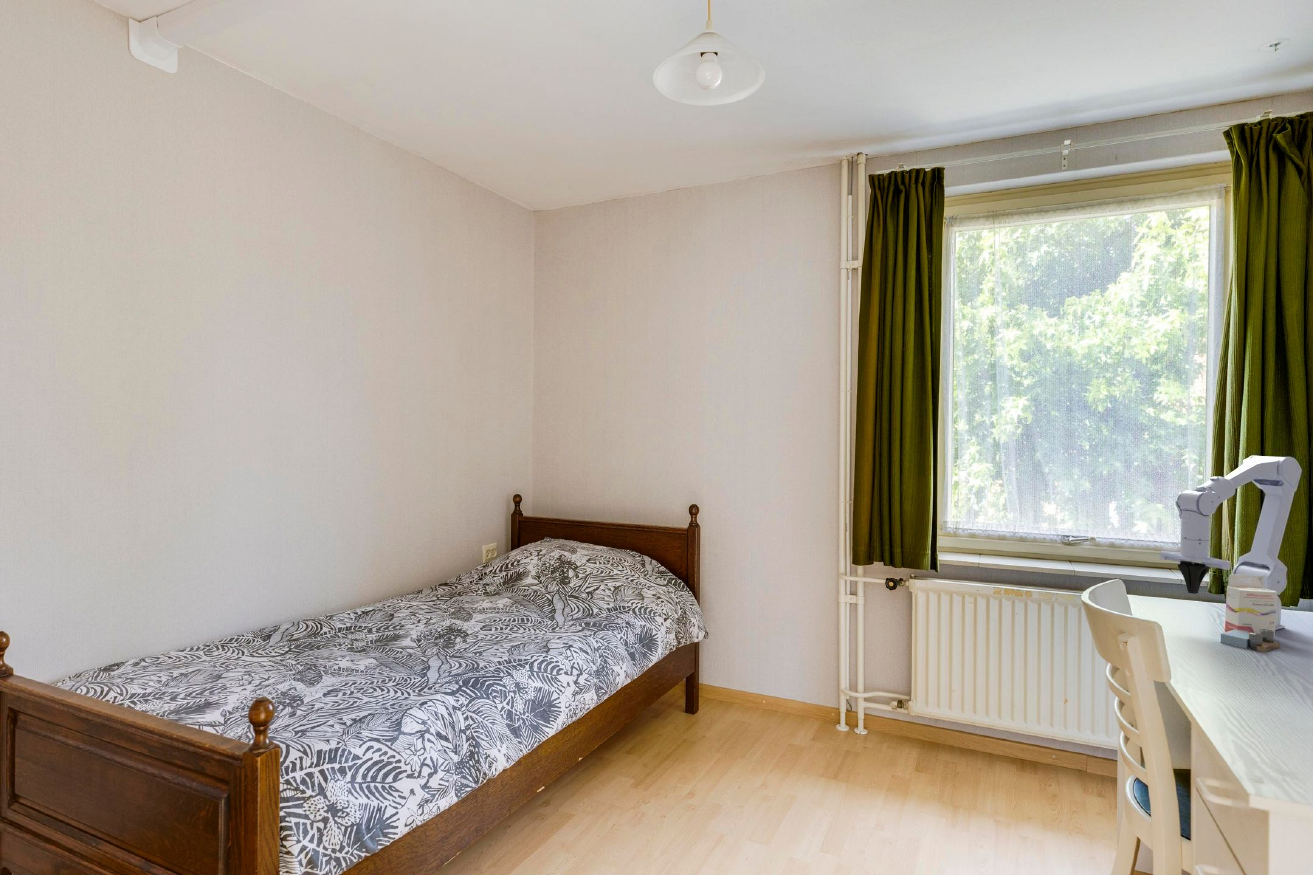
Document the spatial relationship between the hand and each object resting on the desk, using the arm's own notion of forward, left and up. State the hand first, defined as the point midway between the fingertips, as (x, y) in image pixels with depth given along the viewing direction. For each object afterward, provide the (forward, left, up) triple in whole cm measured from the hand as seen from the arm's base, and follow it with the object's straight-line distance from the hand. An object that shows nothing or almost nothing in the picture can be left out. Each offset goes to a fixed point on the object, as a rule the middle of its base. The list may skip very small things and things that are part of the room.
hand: (1192, 592), depth 178 cm
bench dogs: (+1, +15, -9) cm, 17 cm away
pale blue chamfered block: (+1, +11, -10) cm, 15 cm away
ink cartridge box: (-8, +9, -10) cm, 15 cm away
